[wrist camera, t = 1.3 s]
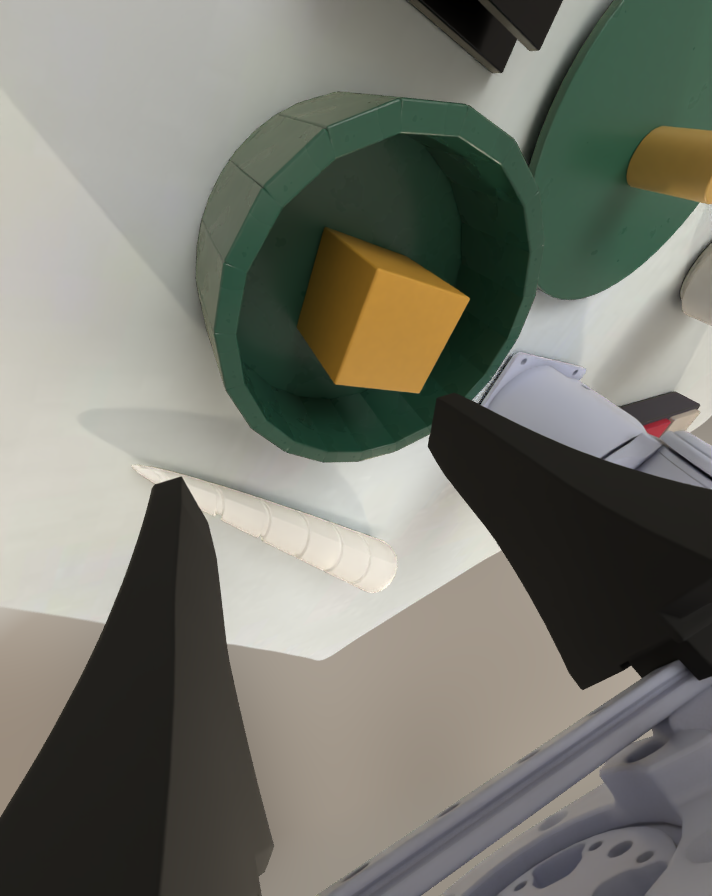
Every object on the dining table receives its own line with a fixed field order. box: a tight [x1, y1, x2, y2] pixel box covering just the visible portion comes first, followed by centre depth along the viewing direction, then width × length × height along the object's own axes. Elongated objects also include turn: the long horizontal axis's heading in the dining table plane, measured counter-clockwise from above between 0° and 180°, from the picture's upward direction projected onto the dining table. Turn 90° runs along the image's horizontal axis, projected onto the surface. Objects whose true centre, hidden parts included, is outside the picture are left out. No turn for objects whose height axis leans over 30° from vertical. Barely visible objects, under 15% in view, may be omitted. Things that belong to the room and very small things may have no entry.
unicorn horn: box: [131, 465, 398, 593], centre depth 26 cm, size 5×24×5 cm, turn 32°
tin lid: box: [529, 0, 712, 300], centre depth 17 cm, size 14×14×5 cm
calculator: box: [620, 392, 700, 438], centre depth 44 cm, size 11×4×15 cm
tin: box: [196, 92, 545, 462], centre depth 16 cm, size 13×13×5 cm
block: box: [297, 227, 470, 393], centre depth 16 cm, size 4×4×5 cm
